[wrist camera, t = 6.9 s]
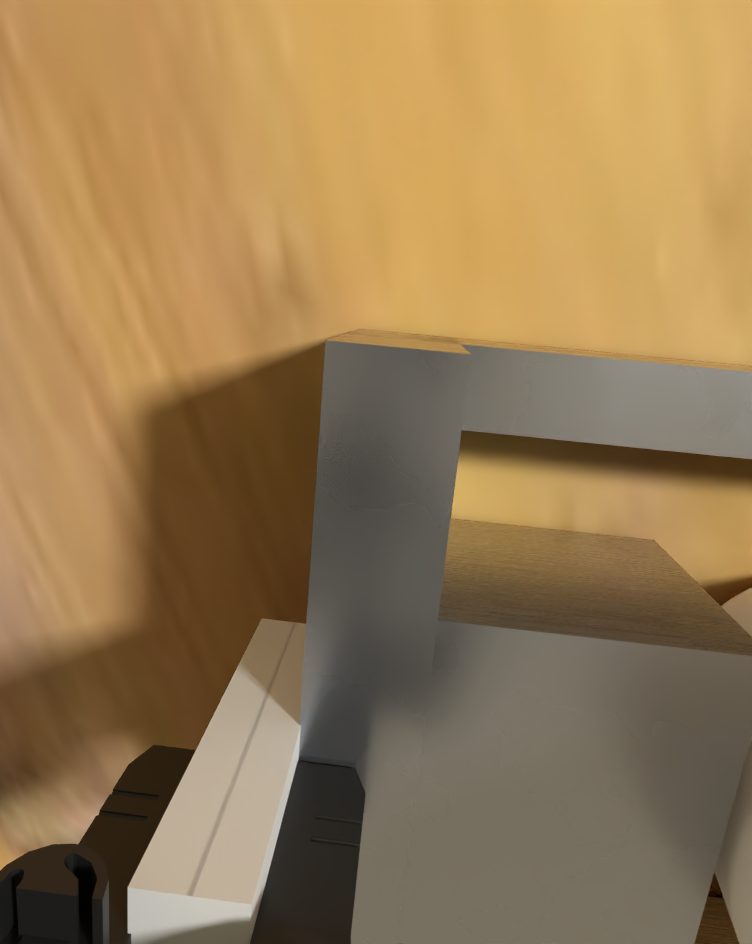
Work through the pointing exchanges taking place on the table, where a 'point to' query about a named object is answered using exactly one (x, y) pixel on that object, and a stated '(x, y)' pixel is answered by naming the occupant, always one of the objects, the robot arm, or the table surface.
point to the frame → (519, 654)
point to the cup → (739, 818)
